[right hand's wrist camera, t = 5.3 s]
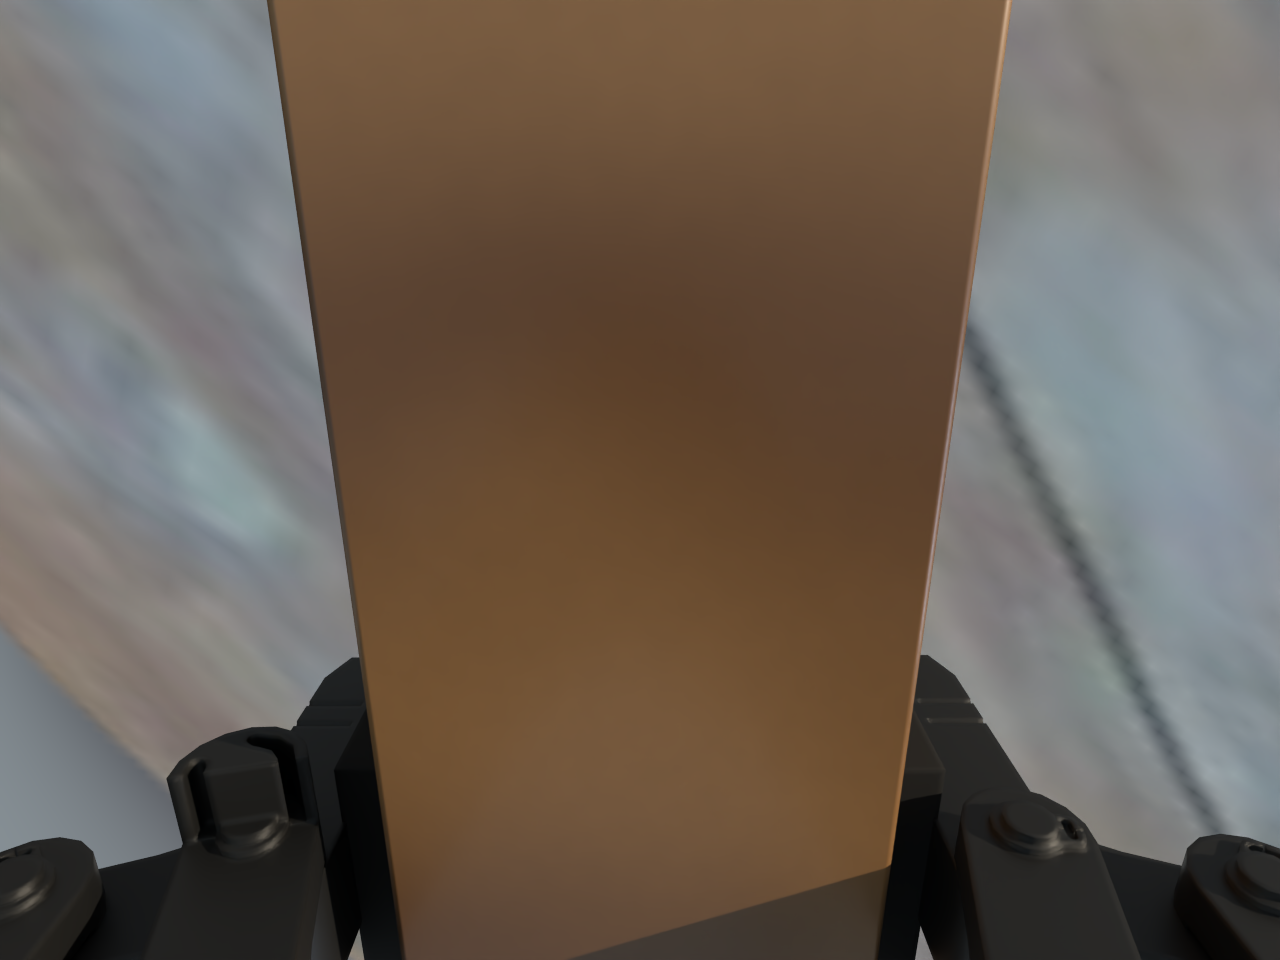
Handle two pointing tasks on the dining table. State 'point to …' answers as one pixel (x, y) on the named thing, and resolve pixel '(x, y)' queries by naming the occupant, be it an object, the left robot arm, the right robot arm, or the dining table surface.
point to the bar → (639, 444)
